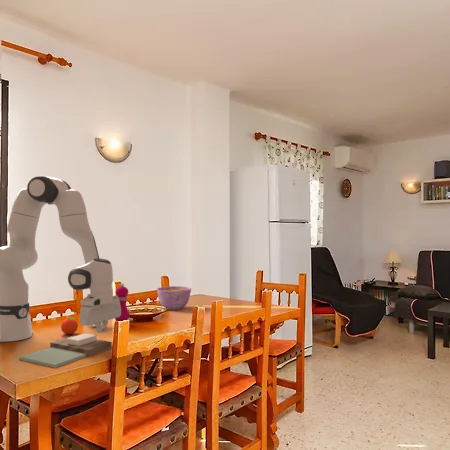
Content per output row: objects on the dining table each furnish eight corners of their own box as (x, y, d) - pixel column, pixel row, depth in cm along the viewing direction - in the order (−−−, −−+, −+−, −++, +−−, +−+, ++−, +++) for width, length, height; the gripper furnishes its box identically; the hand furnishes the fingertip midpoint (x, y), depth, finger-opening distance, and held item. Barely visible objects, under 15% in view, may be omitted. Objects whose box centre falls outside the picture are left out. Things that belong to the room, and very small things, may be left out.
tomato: (74, 330, 188) (74, 315, 188) (83, 333, 184) (83, 317, 184) (57, 334, 182) (57, 318, 182) (66, 337, 178) (66, 320, 178)
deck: (50, 349, 160) (50, 342, 160) (74, 341, 171) (74, 335, 171) (88, 356, 151) (88, 349, 151) (111, 348, 162) (111, 342, 162)
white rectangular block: (67, 343, 159) (67, 338, 159) (85, 338, 167) (85, 333, 167) (78, 345, 156) (78, 340, 156) (96, 340, 164) (96, 335, 164)
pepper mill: (113, 327, 196) (114, 284, 196) (113, 323, 203) (114, 282, 203) (129, 326, 198) (130, 284, 198) (128, 322, 205) (129, 282, 205)
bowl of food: (152, 306, 247) (152, 287, 247) (184, 304, 255) (184, 285, 256) (162, 313, 229) (162, 292, 229) (196, 310, 237) (196, 290, 237)
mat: (19, 359, 147) (19, 356, 147) (51, 349, 160) (51, 346, 160) (54, 367, 139) (54, 364, 139) (86, 356, 152) (86, 353, 152)
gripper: (113, 294, 181) (113, 326, 181) (77, 301, 163) (76, 337, 163) (124, 295, 178) (124, 327, 178) (89, 302, 160) (88, 338, 160)
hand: (101, 332), depth 171 cm, fingers closed
